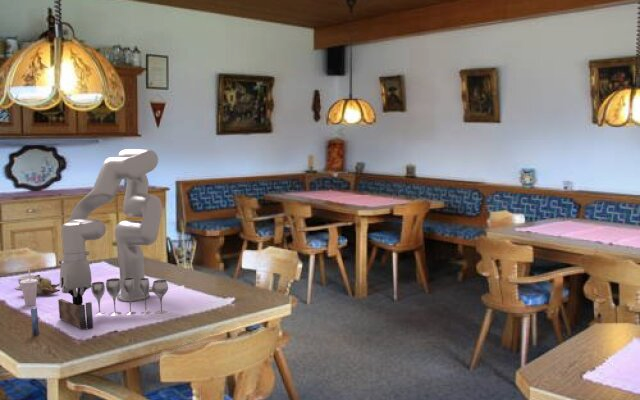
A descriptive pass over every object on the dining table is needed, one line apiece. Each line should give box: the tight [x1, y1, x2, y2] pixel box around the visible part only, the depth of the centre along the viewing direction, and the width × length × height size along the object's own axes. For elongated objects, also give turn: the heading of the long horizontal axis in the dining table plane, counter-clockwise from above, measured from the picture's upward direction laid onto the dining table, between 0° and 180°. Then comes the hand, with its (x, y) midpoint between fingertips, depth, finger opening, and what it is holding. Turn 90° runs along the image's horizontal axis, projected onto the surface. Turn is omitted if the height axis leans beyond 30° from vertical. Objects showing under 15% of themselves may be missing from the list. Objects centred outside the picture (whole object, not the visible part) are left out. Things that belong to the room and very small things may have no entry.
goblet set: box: [90, 277, 169, 317], centre depth 237 cm, size 28×6×13 cm, turn 92°
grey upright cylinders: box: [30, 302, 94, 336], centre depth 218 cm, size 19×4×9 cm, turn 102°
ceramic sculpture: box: [20, 274, 61, 296], centre depth 266 cm, size 11×9×15 cm
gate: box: [57, 298, 87, 330], centre depth 226 cm, size 18×2×8 cm, turn 47°
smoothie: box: [19, 269, 38, 307], centre depth 250 cm, size 6×6×14 cm
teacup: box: [15, 274, 37, 291], centre depth 277 cm, size 10×10×5 cm
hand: (78, 306), depth 232 cm, fingers closed
